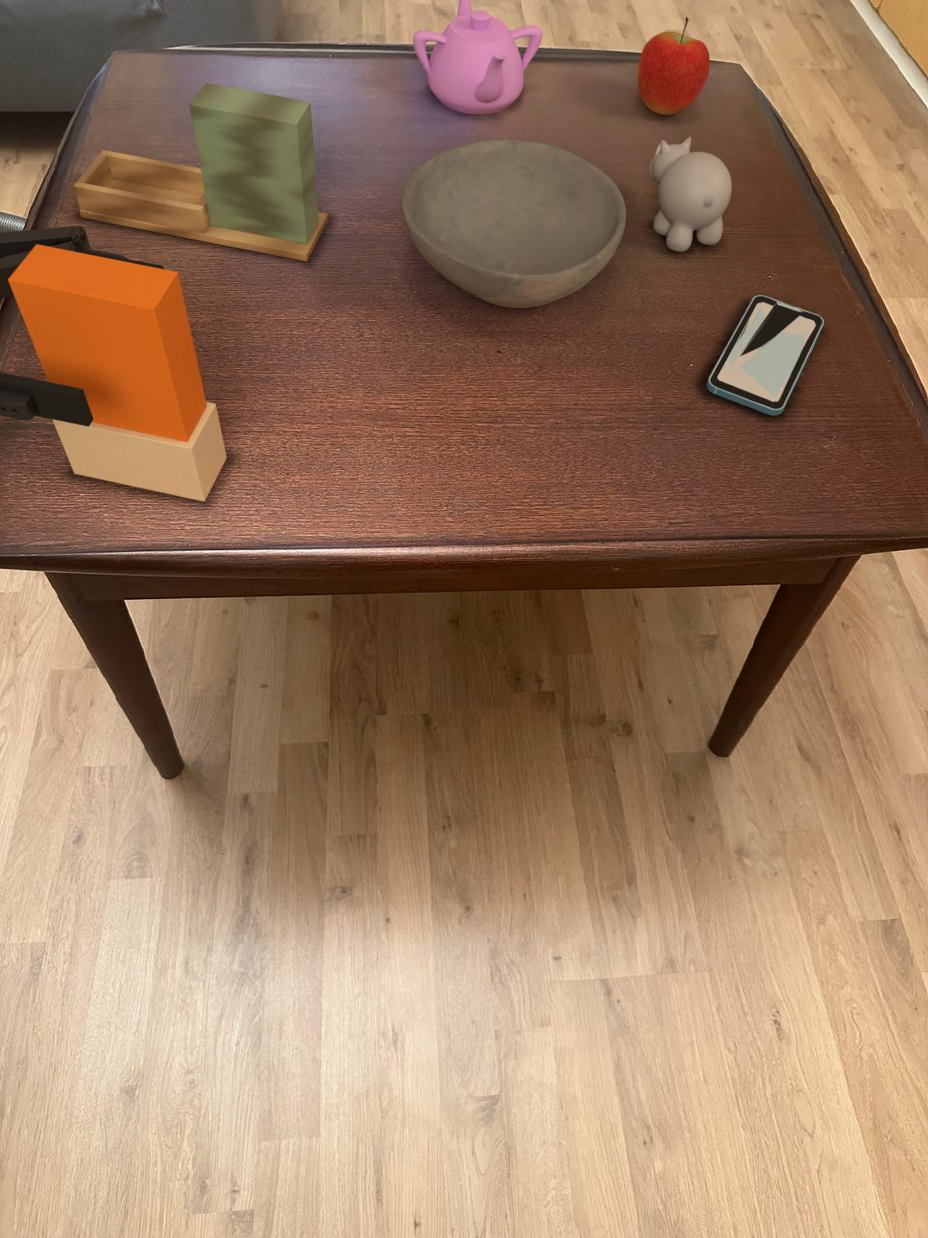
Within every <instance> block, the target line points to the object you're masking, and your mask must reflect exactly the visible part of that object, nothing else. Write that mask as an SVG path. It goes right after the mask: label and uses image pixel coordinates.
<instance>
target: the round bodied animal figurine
mask: <svg viewBox="0 0 928 1238" xmlns="http://www.w3.org/2000/svg"><path fill="white" fill-rule="evenodd" d="M691 145H692V136H688V137H687V138H686V139H685V140H684V141H683V142H682V143H680V144H678V143H671V144H668V143H667V141H666V140H664V139H661V141H660V143H659V144H658V146H657V147H656V150H655V154H654V156H653V158H652V159H651V160H650V161H649V164H648V166H647V173H648V176H649V178H650V180H651V181H652V182H654V183H656V184H657V185H658V186H659V187H658V192H657V193H658V204H659V207H660V209H659V210H658V212H657V213H656V215H655V217H654V219H653V223H652V228H653V231H654V232H655V233H657V234H659V235H661V236H664V237H666V239H665V246H666V247H667V248H668V249H669V250H671V251H674V252H677V253H684V252H686V251H688V250H689V249H690V247H691V245H692V241H693V232H695V231H696V233H695V234H696V239H697V241H698V242H699V243H700V244H701V245H706V246H714V245H716V244H717V243H718V244H719V242H720V240H721V238H722V235H723V231H724V223H723V222H724V221H723V214H724V212H725V211H726V209H727V207H728V205H729V203H730V201H731V197H732V190H733V185H732V178H731V175H730V171H729V170H728V168H727V166H726V165H725V163H724V162H723V161H722V160H721V159H720V158H719V157H717V156H716V155H714V154H712V153H710V152H705V151H692V152H690V149H691Z"/></svg>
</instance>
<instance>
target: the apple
mask: <svg viewBox="0 0 928 1238" xmlns="http://www.w3.org/2000/svg"><path fill="white" fill-rule="evenodd" d="M689 19H690V18H689V17H688V16H686V17H685V23H684V26H683V29H682V30H683V31H682V33H680V32H676V31H672V30H671V31H669V30H668V31H661V32H660V33H657V34H655V35H654V36H652V37H651V38H650V39H649V40H648V41H647V42H646V43H645V45H644V47H643V49H642V51H641V53H640V56H639V59H638V65H637V76H636V77H637V88H638V92H639V95H640V98H641V100H642V102H643V104H644V105H645V107H647V108H648V110H650V111H651V112H652V113H654V114H657V115H660V116H671V115H675V114H678V113H680V112H681V111H683V110H685V109H686V108H687V107H689V106H690V105H691V104H692V103H693V102H695V100H696V99H697V97H698V96H699V95H700V93H701V92H702V90H703V88H704V86H705V84H706V82H707V80H708V77H709V73H710V66H711V58H710V52H709V49H708V47H707V45H706V44H705V43H704V42H703V41H702V40H700V39H696V38H693V37H691V36H689V35H686V34H685V32H686V28H687V25H688V23H689Z"/></svg>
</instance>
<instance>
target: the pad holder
mask: <svg viewBox="0 0 928 1238" xmlns="http://www.w3.org/2000/svg"><path fill="white" fill-rule="evenodd" d="M311 104H312V103H311V101H309V100H303V99H298V98H292V97H287V96H282V95H275V94H270V93H266V92H265V93H264V92H260V91H259V92H258V91H253V90H248V89H242V88H237V87H232V86H228V85H227V86H226V85H221V84H215V83H210V82H204V84H203V85H202V87H201V88H200V89H199V91H198V92H197V93H196V94H195V96H194V97H193V98H192V100H191V101H190V103H189V111H190V115H191V122H192V129H193V133H194V139H195V145H196V151H197V156H198V161H199V167H196V166H191V165H185V164H180V163H175V162H169V161H165V160H159V159H154V158H148V157H144V156H143V157H142V156H137V155H132V154H129V153H128V154H126V153H122V152H116V151H112V150H106V149H102V150H101V152H100V153H99V154H98V155H97V156H96V158H95V159H94V160H93V162H91V164H90V165H89V166H88V167H87V168H86V170H85V171H84V172H83V173H82V174H81V176H80V177H79V178H78V179H77V180H76V181H75V183H74V184H73V185H72V187H73V191H74V194H75V197H76V201H77V204H78V207H79V215H80V218H82V219H87V220H92V221H97V222H103V223H108V224H112V225H118V226H122V227H127V228H133V229H138V230H143V231H149V232H153V233H157V234H163V235H168V236H175V237H179V238H184V239H189V240H194V241H199V242H204V243H210V244H216V245H220V246H226V247H230V248H236V249H242V250H246V251H251V252H256V253H261V254H267V255H272V256H276V257H282V258H286V259H292V260H297V261H301V262H307V261H308V260H309V258H310V256H311V255H312V252H313V250H314V248H315V246H316V245H317V243H318V241H319V239H320V237H321V235H322V234H323V232H324V229H325V228H326V226H327V224H328V222H329V214H328V213H326V212H320V211H319V202H318V191H317V190H318V187H317V175H316V162H315V161H316V160H315V147H314V146H315V145H314V134H313V132H314V131H313V119H312V118H313V117H312V116H313V115H312V105H311Z"/></svg>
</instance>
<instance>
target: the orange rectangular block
mask: <svg viewBox="0 0 928 1238" xmlns="http://www.w3.org/2000/svg"><path fill="white" fill-rule="evenodd" d="M8 281H9V284H10V286H11V289H12V291H13V294H14V296H13V297H14V299H15V301H16V304H17V306H18V309H19V311H20V313H21V316H22V319H23V321H24V325H25V326H26V329H27V332H28V334H29V337H30V339H31V342H32V345H33V347H34V350H35V352H36V354H37V357H38V359H39V362H40V365H41V368H42V370H43V372H44V375H45V377H46V380H47V382H51V383H56V384H61V385H66V386H71V387H76V388H81V389H83V390H84V393H85V396H86V399H87V402H88V405H89V407H90V410H91V413H92V416H93V419H94V420H93V421H92V422H94V423H99V424H103V425H108V426H113V427H118V428H122V429H127V430H132V431H137V432H141V433H146V434H151V435H156V436H160V437H165V438H170V439H175V440H179V441H184V442H188V440H189V438H190V437H191V435H192V433H193V431H194V429H195V427H196V426H197V424H198V422H199V420H200V418H201V416H202V415H203V413H204V411H205V409H206V407H207V404H206V402H207V399H206V396H205V395H206V394H205V392H204V391H205V390H204V386H203V382H202V376H201V372H200V368H199V363H198V359H197V353H196V349H195V344H194V341H193V340H194V339H193V336H192V331H191V327H190V322H189V318H188V313H187V307H186V304H185V299H184V294H183V290H182V285H181V281H180V275H179V272H178V271H174V270H169V269H165V268H164V269H159V268H154V267H149V266H144V265H139V264H134V263H129V262H124V261H119V260H114V259H109V258H104V257H99V256H94V255H89V254H83V253H78V252H73V251H68V250H63V249H58V248H53V247H48V246H43V245H38V244H37V245H36V246H35V247H34V248H33V249H32V250H31V252H30V253H29V254H28V255H27V257H26V258H25V259H24V260H23V262H22V263H21V264H20V265H19V266H18V268H17V269H16V270H15V271H14V273H13V274H12V275H11V276H10V278H9V279H8Z"/></svg>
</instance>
